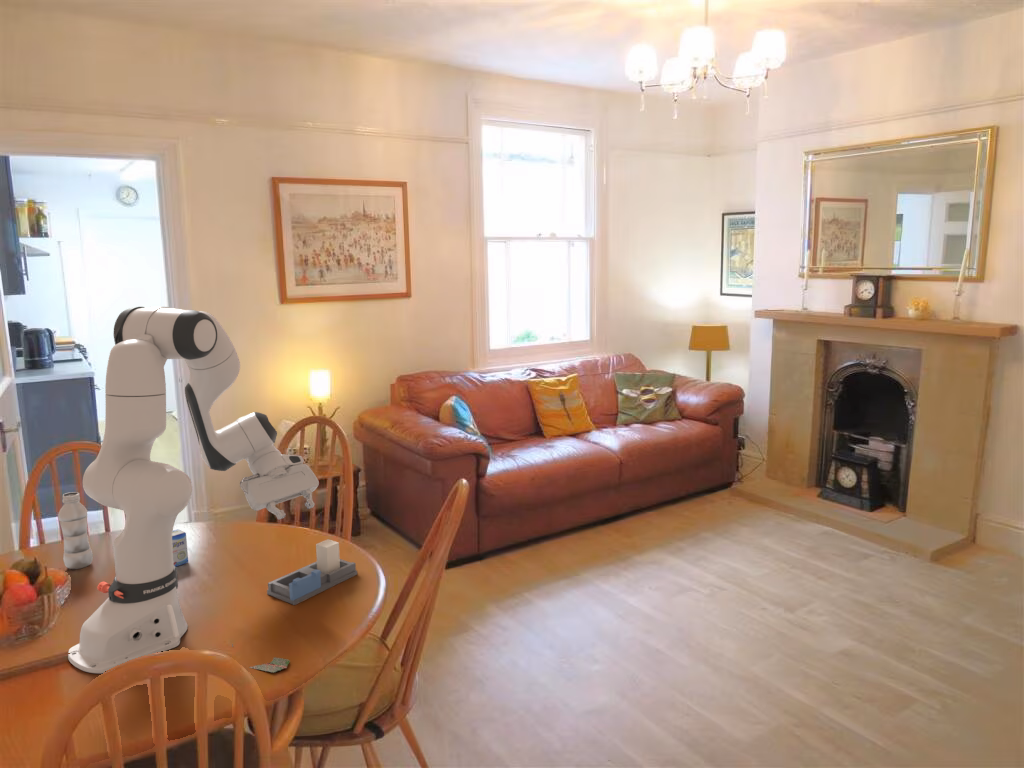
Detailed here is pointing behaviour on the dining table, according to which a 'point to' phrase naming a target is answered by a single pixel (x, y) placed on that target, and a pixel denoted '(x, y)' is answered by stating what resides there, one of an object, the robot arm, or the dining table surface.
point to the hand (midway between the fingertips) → (297, 512)
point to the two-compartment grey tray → (309, 582)
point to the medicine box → (179, 547)
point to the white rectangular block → (328, 556)
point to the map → (273, 665)
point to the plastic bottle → (74, 532)
